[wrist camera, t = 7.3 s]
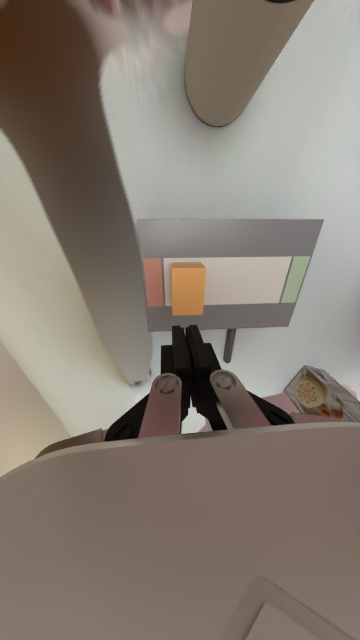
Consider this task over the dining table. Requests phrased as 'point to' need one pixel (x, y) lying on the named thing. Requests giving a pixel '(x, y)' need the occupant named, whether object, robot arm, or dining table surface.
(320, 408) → the coffee box
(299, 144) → the dining table surface
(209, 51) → the travel mug
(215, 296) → the box
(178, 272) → the knob
